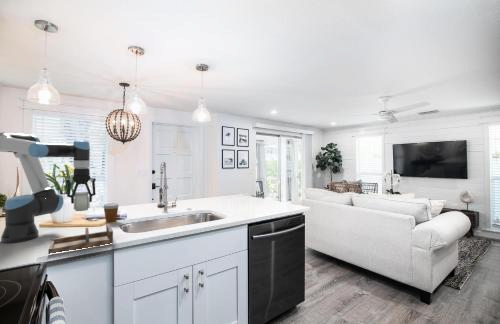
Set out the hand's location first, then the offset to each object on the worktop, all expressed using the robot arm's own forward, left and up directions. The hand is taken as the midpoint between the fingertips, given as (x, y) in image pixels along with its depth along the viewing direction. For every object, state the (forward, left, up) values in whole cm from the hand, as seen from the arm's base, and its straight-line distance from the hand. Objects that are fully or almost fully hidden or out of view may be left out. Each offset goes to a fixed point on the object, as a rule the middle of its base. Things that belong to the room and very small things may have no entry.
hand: (81, 208), depth 139 cm
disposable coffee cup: (+17, +26, -16) cm, 35 cm away
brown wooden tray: (0, -16, -16) cm, 23 cm away
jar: (0, 0, -1) cm, 1 cm away
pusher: (+2, -16, -15) cm, 22 cm away
